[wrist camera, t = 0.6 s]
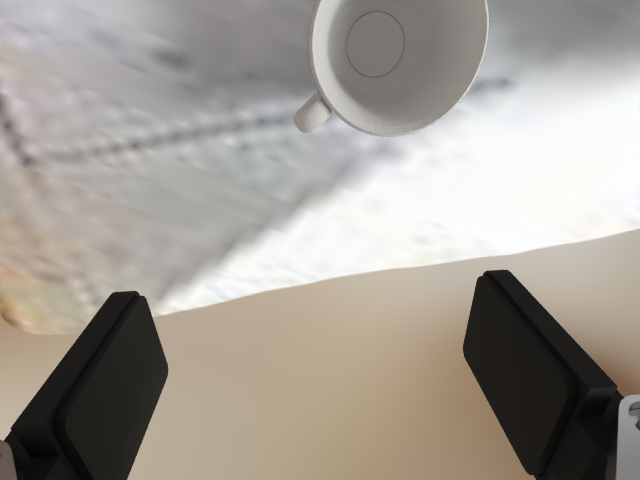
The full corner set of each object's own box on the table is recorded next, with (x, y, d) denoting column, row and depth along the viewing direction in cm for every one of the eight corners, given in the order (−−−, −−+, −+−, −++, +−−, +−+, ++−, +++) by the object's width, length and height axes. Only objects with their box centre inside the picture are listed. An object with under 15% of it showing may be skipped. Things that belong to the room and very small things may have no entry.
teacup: (253, 56, 33) (237, 60, 24) (390, -75, 29) (431, -129, 20) (335, 158, 37) (346, 192, 29) (461, 57, 34) (520, 60, 25)
